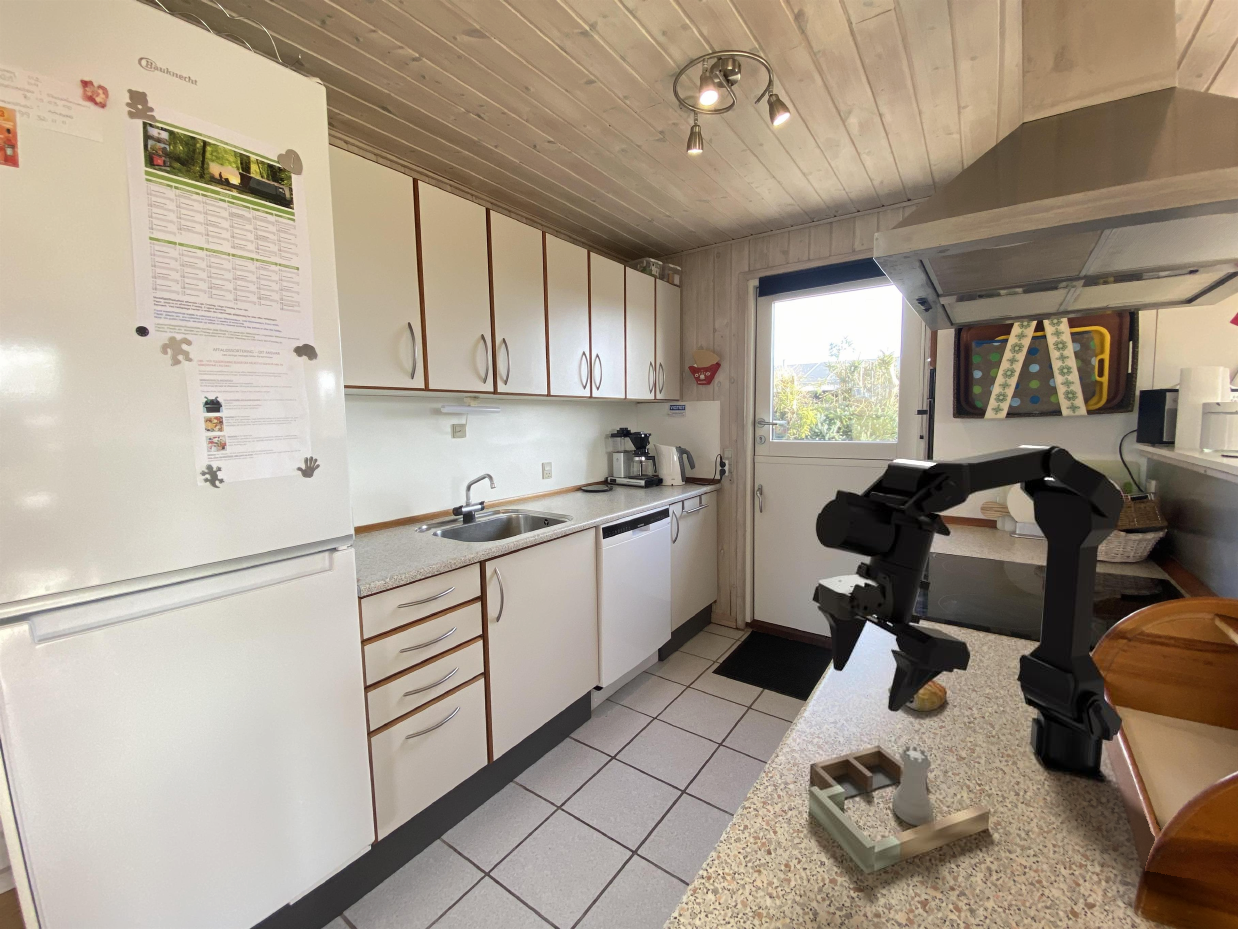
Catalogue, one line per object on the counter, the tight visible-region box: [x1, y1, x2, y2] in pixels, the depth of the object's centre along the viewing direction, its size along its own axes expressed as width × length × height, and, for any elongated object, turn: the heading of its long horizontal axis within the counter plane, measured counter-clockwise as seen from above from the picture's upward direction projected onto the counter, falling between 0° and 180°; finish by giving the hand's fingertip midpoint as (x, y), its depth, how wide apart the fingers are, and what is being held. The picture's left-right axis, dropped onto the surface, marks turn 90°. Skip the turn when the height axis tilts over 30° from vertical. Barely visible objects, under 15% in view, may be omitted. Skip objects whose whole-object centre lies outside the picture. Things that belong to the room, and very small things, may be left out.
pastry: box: [887, 679, 948, 712], centre depth 85 cm, size 9×7×4 cm
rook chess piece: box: [891, 744, 935, 827], centre depth 60 cm, size 4×4×8 cm
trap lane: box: [808, 744, 990, 875], centre depth 62 cm, size 18×13×3 cm
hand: (863, 689), depth 60 cm, fingers open, 9 cm apart
